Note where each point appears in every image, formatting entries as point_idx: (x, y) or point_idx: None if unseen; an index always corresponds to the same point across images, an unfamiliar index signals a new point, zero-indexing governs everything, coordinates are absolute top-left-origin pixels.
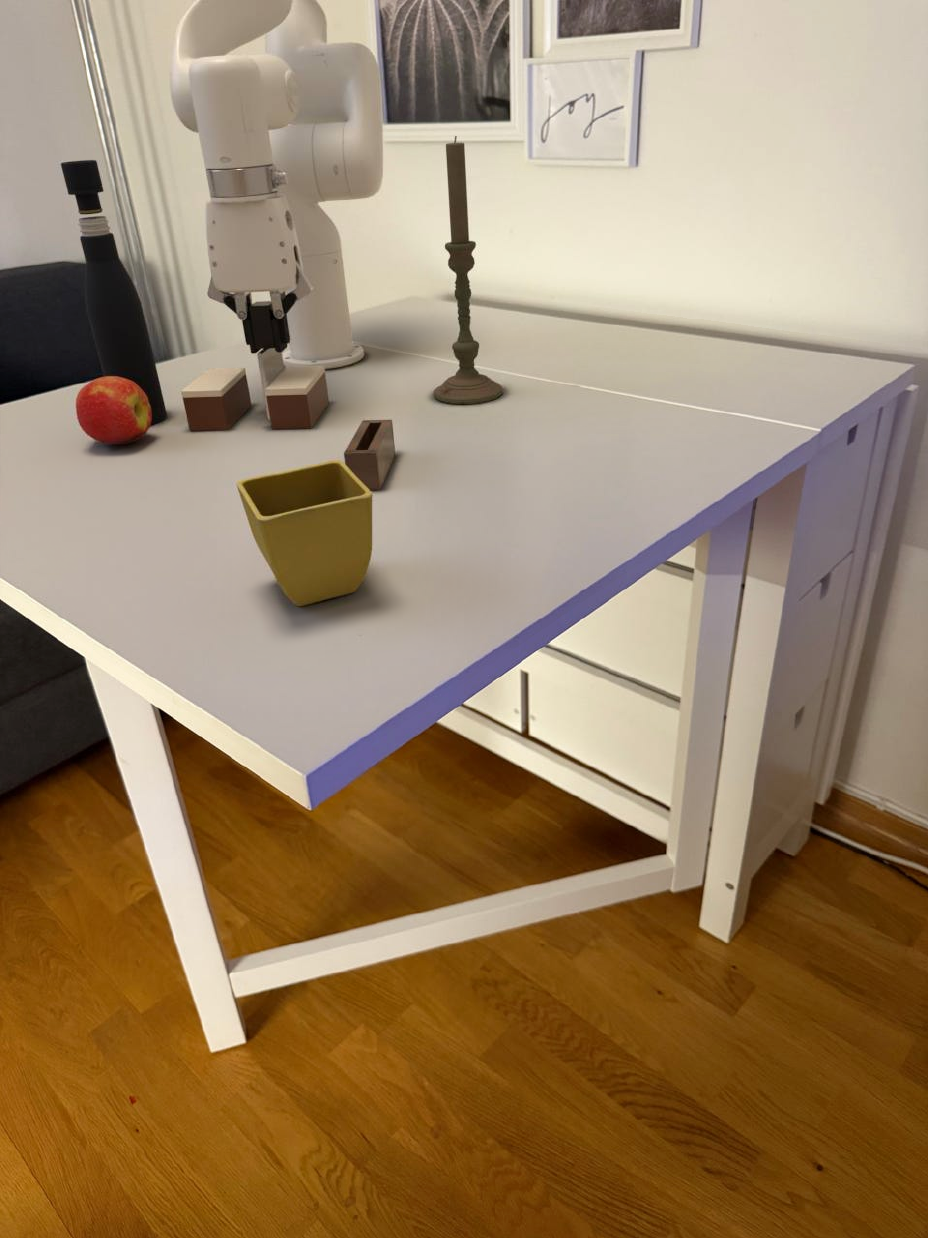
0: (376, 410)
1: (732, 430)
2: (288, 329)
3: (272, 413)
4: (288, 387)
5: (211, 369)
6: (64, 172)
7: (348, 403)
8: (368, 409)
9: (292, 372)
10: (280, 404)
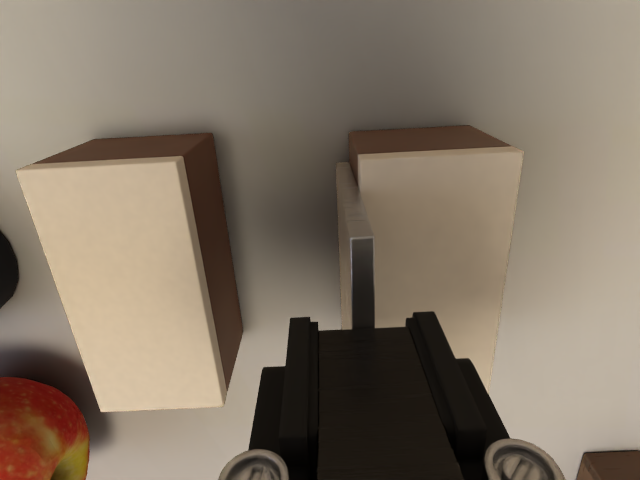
0: (619, 196)
1: None
2: (484, 393)
3: None
4: None
5: (38, 183)
6: None
7: (532, 124)
8: (595, 186)
9: (407, 243)
10: None
